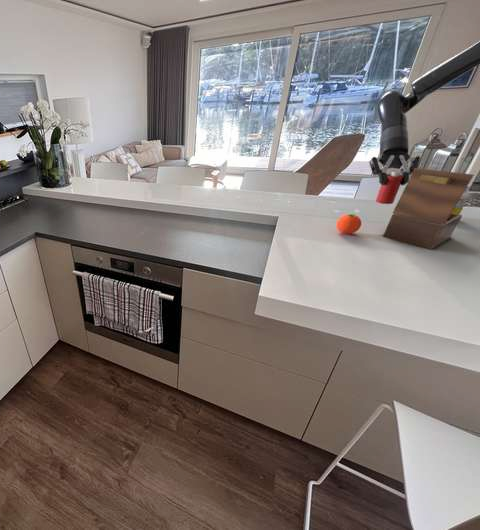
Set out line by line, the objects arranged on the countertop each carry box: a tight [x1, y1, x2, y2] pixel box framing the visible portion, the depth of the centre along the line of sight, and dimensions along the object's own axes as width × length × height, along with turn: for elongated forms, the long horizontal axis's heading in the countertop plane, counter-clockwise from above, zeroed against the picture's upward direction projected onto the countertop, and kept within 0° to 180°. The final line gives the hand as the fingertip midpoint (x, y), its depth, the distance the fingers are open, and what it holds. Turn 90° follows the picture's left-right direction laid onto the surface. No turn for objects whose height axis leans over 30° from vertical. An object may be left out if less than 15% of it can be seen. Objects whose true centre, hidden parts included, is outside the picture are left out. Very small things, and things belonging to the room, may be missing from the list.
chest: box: [383, 213, 463, 250], centre depth 95 cm, size 14×13×8 cm
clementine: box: [336, 213, 362, 235], centre depth 102 cm, size 8×7×7 cm
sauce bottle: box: [375, 170, 404, 205], centre depth 103 cm, size 5×5×11 cm
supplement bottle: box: [452, 183, 471, 215], centre depth 103 cm, size 7×7×13 cm
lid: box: [392, 167, 475, 225], centre depth 86 cm, size 14×13×5 cm
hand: (393, 183), depth 101 cm, fingers closed on sauce bottle, 5 cm apart
